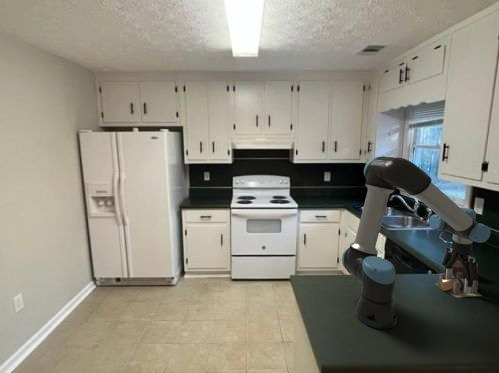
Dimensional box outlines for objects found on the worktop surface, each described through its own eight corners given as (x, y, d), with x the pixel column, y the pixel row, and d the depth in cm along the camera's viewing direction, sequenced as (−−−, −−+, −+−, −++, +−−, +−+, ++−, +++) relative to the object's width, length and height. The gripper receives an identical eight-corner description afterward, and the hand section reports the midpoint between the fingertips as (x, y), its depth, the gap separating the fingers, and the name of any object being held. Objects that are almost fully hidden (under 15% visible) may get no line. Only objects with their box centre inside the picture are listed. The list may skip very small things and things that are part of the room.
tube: (469, 287, 134) (467, 276, 135) (478, 289, 129) (476, 278, 130) (438, 289, 132) (437, 278, 133) (447, 291, 127) (445, 280, 128)
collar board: (455, 299, 124) (457, 284, 123) (433, 285, 137) (435, 271, 136) (482, 297, 125) (483, 283, 124) (457, 283, 138) (459, 270, 137)
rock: (451, 271, 141) (445, 255, 148) (451, 282, 146) (446, 265, 153) (481, 270, 135) (474, 253, 142) (480, 281, 141) (473, 264, 148)
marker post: (452, 283, 136) (453, 277, 136) (449, 282, 138) (450, 276, 137) (455, 283, 136) (456, 277, 136) (452, 282, 138) (453, 275, 137)
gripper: (493, 250, 117) (487, 299, 120) (449, 233, 139) (445, 275, 142) (477, 251, 116) (471, 300, 119) (435, 234, 138) (431, 276, 141)
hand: (457, 286), depth 131 cm, fingers open, 10 cm apart
